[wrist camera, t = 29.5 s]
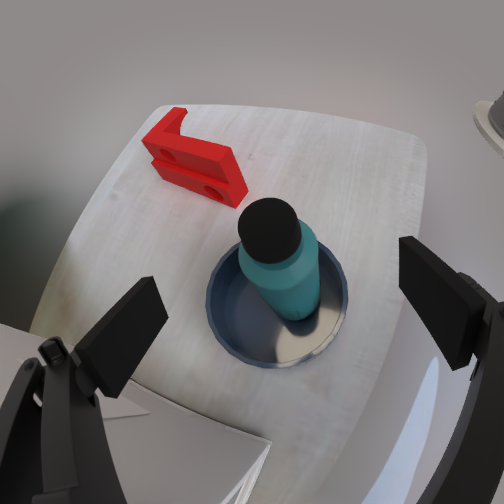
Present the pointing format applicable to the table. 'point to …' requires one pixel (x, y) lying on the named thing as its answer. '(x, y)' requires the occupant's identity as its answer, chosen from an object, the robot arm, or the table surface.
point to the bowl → (273, 315)
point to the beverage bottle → (280, 257)
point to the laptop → (158, 440)
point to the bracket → (194, 161)
